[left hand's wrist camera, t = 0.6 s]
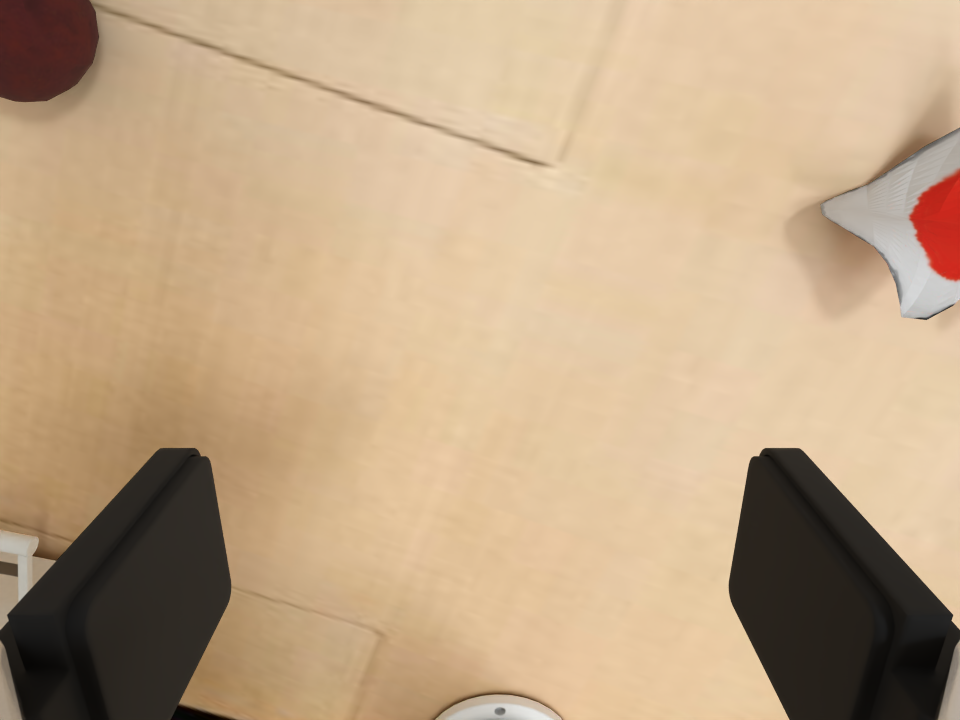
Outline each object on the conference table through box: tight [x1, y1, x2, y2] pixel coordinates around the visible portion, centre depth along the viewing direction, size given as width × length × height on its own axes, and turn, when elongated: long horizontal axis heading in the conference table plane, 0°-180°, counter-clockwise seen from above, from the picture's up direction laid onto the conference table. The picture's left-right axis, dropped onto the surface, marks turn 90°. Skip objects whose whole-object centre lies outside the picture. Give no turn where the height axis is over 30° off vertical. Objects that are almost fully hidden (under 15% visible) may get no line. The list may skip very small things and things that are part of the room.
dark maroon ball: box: [0, 0, 99, 102], centre depth 32 cm, size 7×8×7 cm
